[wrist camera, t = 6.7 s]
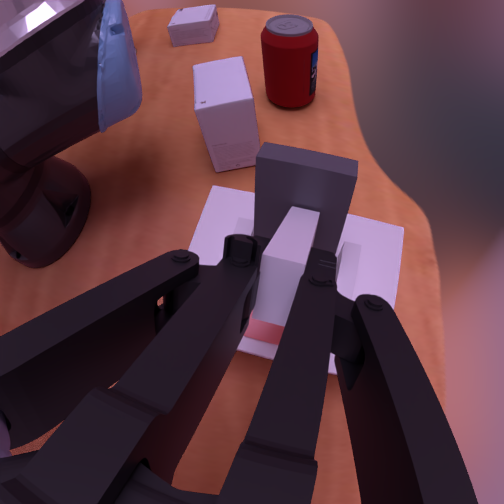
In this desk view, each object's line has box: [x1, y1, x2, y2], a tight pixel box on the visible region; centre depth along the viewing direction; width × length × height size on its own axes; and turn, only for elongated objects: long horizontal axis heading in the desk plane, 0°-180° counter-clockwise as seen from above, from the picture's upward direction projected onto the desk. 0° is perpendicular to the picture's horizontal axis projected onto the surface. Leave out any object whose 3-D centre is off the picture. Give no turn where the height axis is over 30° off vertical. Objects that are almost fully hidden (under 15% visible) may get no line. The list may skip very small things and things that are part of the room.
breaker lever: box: [254, 142, 358, 255], centre depth 19 cm, size 2×5×10 cm, turn 74°
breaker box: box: [188, 185, 404, 375], centre depth 25 cm, size 12×16×10 cm
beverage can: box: [261, 15, 318, 107], centre depth 34 cm, size 7×7×12 cm
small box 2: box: [193, 56, 260, 172], centre depth 33 cm, size 8×6×10 cm
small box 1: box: [167, 5, 219, 47], centre depth 47 cm, size 8×8×5 cm
